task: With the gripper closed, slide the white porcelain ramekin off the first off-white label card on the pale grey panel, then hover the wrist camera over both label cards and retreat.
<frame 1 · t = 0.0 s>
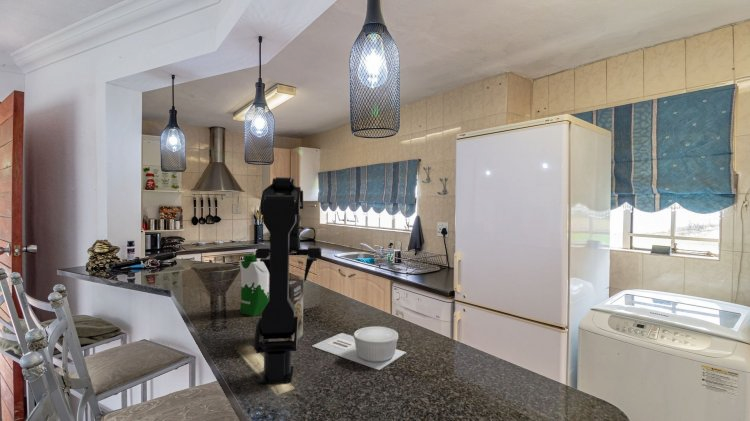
hand: (289, 281, 105), 15 cm above the counter, fingers open, 9 cm apart
coffee box: (286, 340, 98), on the counter
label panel: (358, 349, 92), on the counter
milk carton: (255, 312, 123), on the counter
ramekin: (375, 355, 89), resting on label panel
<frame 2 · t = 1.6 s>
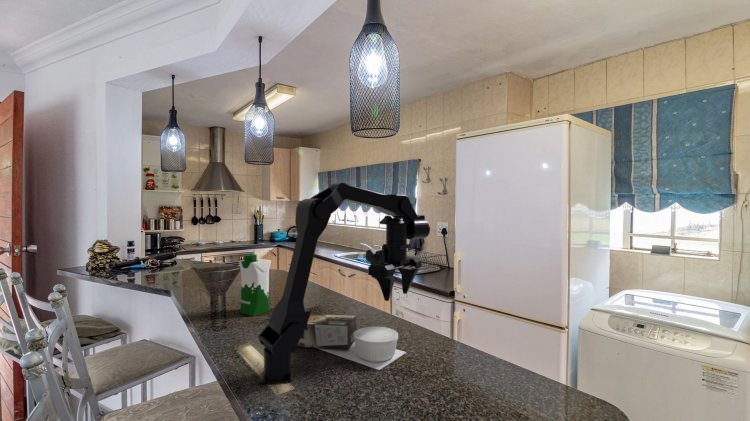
hand: (396, 297, 98), 12 cm above the counter, fingers open, 9 cm apart
coffee box: (295, 329, 98), point 3 cm above the counter, touching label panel
everything else where it was.
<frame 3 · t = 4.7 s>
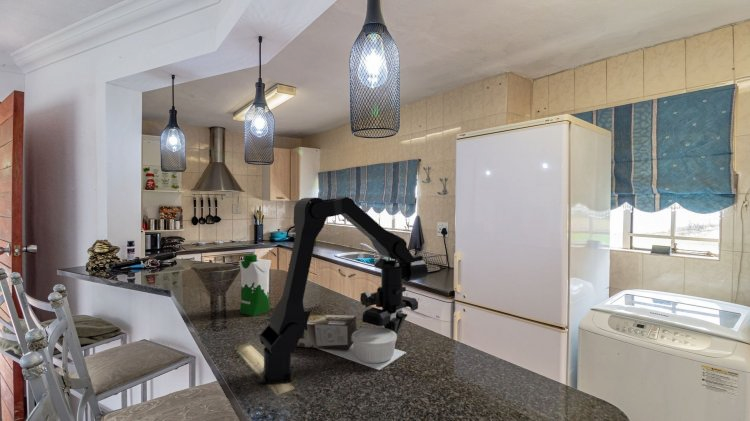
hand: (391, 341, 95), 1 cm above the counter, fingers closed
ramekin: (374, 356, 88), resting on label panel, touching gripper
everything else where it was.
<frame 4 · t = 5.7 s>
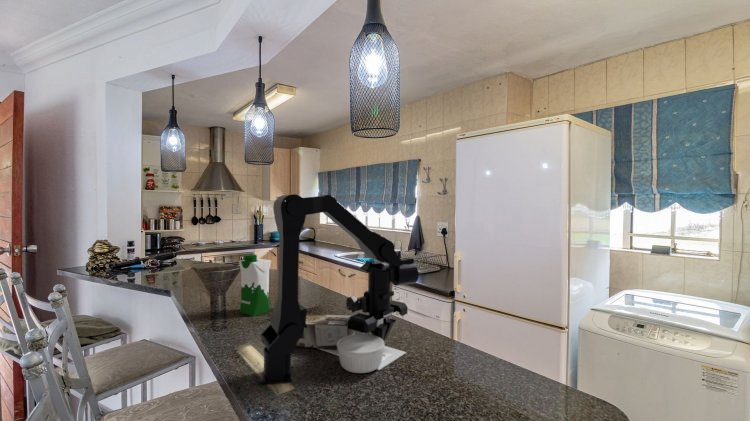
hand: (379, 348, 90), 1 cm above the counter, fingers closed
ramekin: (360, 365, 83), on the counter, touching gripper
everything else where it was.
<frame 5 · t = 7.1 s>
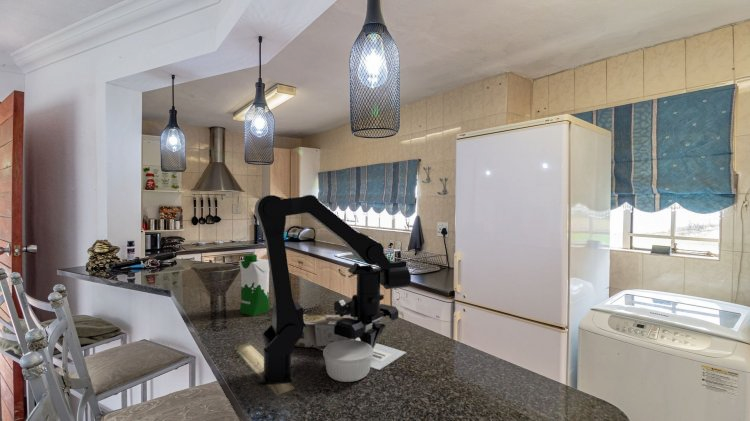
hand: (368, 354, 86), 1 cm above the counter, fingers closed
ramekin: (348, 373, 80), on the counter, touching gripper
everything else where it was.
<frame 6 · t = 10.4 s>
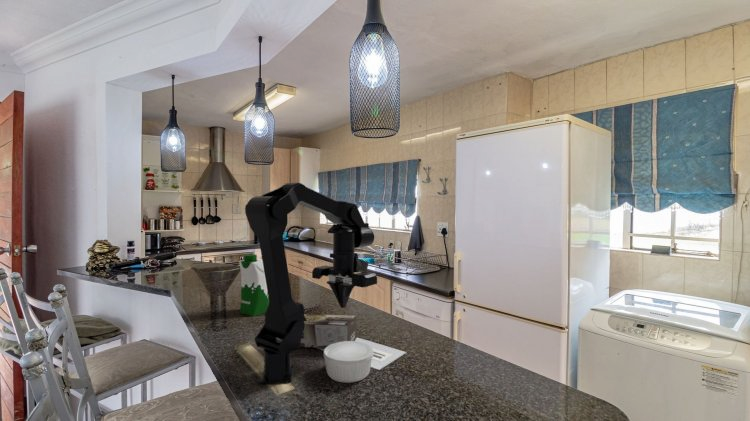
hand: (343, 307, 95), 10 cm above the counter, fingers closed
ramekin: (348, 374, 80), on the counter
everything else where it was.
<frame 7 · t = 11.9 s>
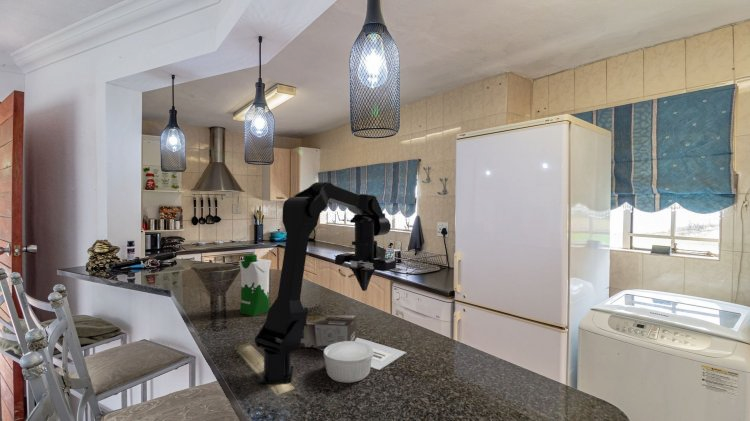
hand: (364, 290, 104), 12 cm above the counter, fingers closed
nothing on the counter moved.
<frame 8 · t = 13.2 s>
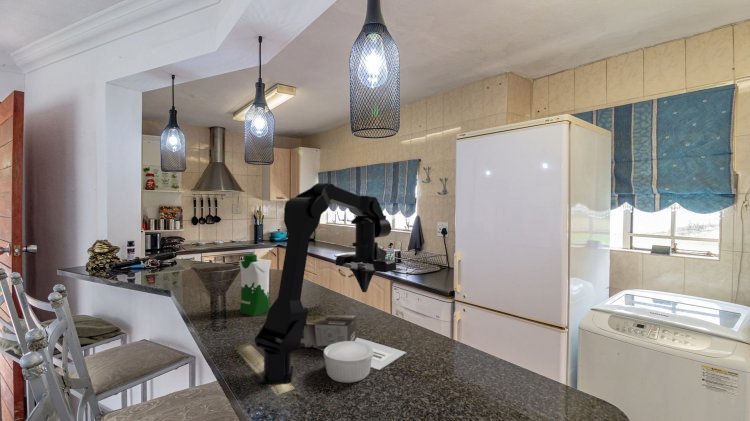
hand: (364, 292, 104), 12 cm above the counter, fingers closed
nothing on the counter moved.
at the end: ramekin moved 11.2 cm from its start; ramekin inside the target area (1.4 cm from its centre), on the counter; ramekin tilted 0° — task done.
